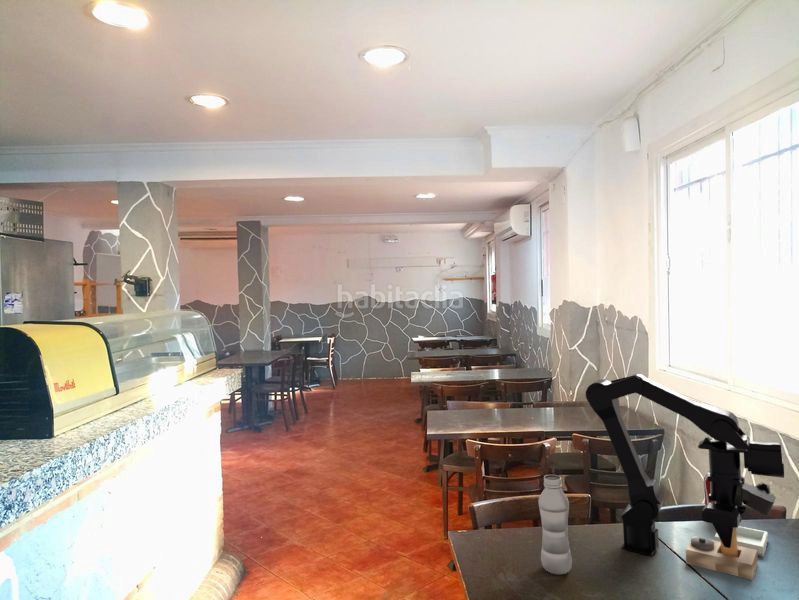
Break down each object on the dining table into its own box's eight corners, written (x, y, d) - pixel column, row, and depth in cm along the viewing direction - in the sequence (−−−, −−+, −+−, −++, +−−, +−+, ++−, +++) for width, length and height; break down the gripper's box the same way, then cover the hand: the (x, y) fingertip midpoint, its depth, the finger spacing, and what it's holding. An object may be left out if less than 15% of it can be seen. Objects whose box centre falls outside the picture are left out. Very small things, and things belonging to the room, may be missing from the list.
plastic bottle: (572, 565, 115) (568, 473, 115) (572, 580, 108) (567, 483, 108) (542, 561, 117) (538, 471, 117) (540, 576, 110) (535, 481, 111)
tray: (715, 545, 121) (714, 536, 121) (722, 531, 128) (721, 522, 128) (763, 556, 115) (763, 546, 115) (768, 541, 122) (767, 531, 122)
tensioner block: (686, 563, 113) (685, 542, 113) (694, 549, 119) (693, 529, 119) (752, 580, 106) (751, 558, 106) (757, 564, 112) (756, 543, 112)
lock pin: (718, 566, 111) (715, 520, 111) (721, 559, 114) (718, 514, 114) (739, 572, 109) (736, 524, 109) (741, 564, 112) (739, 518, 112)
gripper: (766, 490, 100) (770, 573, 99) (775, 465, 114) (779, 537, 114) (699, 480, 107) (703, 557, 106) (716, 457, 121) (719, 525, 121)
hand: (728, 544), depth 112 cm, fingers closed on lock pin, 3 cm apart
